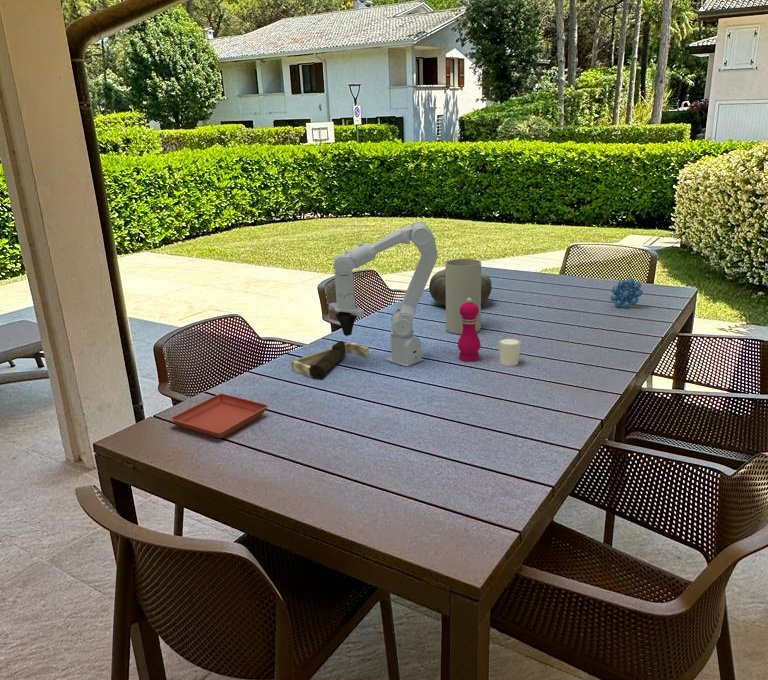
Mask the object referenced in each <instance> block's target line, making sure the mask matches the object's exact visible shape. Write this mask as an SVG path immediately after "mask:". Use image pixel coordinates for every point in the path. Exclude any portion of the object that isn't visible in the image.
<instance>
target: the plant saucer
mask: <svg viewBox="0 0 768 680" xmlns="http://www.w3.org/2000/svg"><path fill="white" fill-rule="evenodd" d="M268 407H269V405H268V404H266V403H262V402H257V401H253V400H250V399H245V398H242V397H239V396H238V397H237V396H234V395H229V394H226V393H219V394H217V395H213V396H212V397H210V398H208V399H207V400H203V401H202V402H200V403H198V404H196V405H194V406H191V407H190V408H188V409H185V410H184V411H182V412H179V413H178V414H175V415H173V416H172V417H171V418H170V420H171V421H172V422H173V423H175V424H176V425H178V427H179V426H180V427H181V428H184V429H186V430H190V431H194V432H196V433H201V434H204V435H207V436H210V437H212V438H213V437H214V438H216V439H223V438H225V437H227V436H228V435H230V434H232V433H235V432H236V431H238V430H239V429H241V428H243V427H245V426H246V425H248V424H250V423H251V422H254V421H255V420H257V419H259V418H260V417H261V416H262V415H263V414H264V413H265V411H266V410H267V409H268Z"/></svg>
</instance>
